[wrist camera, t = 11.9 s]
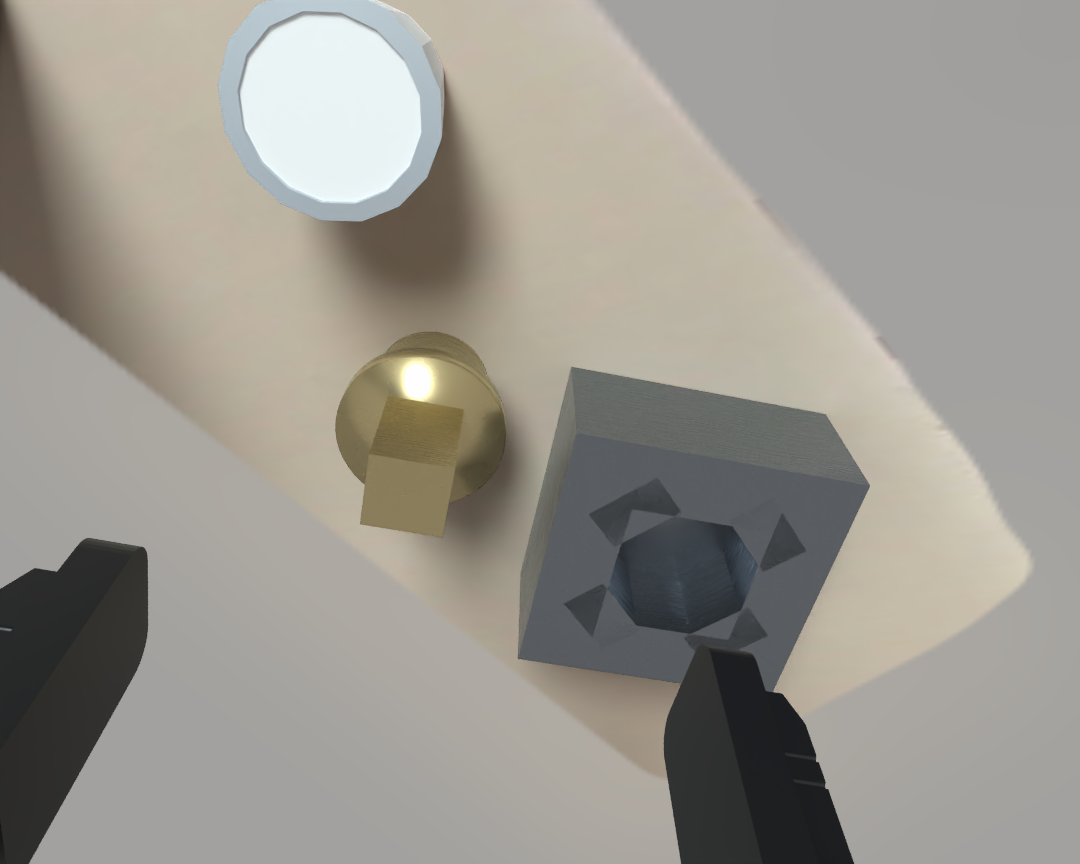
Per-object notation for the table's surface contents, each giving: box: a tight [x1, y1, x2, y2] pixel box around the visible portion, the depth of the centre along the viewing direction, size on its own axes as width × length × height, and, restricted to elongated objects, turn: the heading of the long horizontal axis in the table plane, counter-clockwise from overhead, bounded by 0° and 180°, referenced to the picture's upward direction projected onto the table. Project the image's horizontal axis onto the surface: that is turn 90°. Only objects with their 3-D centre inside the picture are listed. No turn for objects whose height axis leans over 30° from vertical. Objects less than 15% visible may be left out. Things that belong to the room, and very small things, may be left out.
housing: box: [518, 367, 870, 692], centre depth 38 cm, size 12×12×6 cm
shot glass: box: [218, 0, 445, 221], centre depth 29 cm, size 7×7×7 cm
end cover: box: [335, 332, 506, 537], centre depth 34 cm, size 7×7×9 cm
